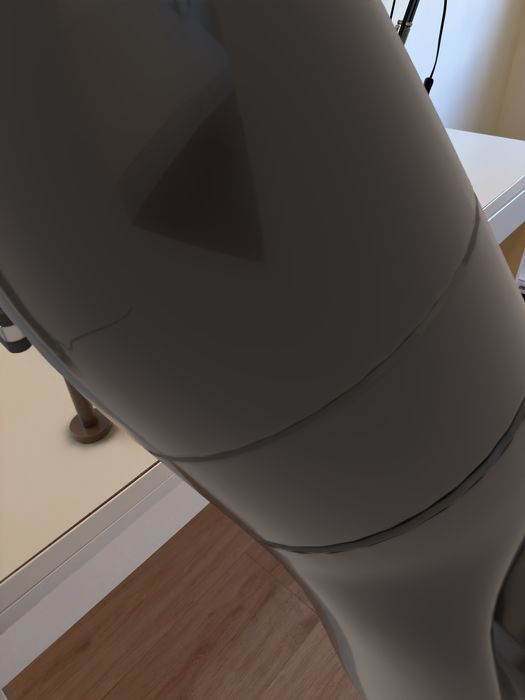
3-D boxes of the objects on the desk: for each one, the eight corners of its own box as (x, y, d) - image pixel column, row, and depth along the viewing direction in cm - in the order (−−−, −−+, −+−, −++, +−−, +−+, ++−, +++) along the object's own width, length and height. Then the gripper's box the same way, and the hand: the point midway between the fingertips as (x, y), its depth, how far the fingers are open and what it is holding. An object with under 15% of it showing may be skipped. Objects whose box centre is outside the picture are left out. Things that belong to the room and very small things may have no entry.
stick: (98, 447, 57) (61, 345, 48) (63, 438, 58) (21, 337, 49) (119, 418, 60) (88, 318, 51) (85, 410, 61) (50, 311, 52)
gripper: (296, 212, 26) (135, 141, 36) (14, 330, 19) (-89, 203, 29) (296, 332, 31) (154, 240, 41) (70, 461, 24) (-36, 313, 34)
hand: (52, 225), depth 35 cm, fingers open, 8 cm apart
